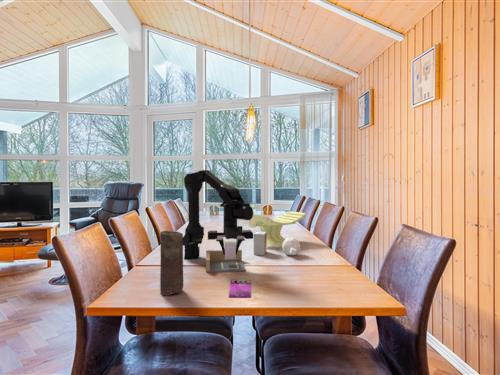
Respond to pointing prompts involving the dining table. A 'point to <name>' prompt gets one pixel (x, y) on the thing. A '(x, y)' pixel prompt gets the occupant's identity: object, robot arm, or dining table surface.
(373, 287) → the dining table surface
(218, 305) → the dining table surface
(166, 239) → the grey-brown tall block
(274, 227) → the slatted curved stool
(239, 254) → the corner tray
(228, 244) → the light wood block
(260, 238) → the small box
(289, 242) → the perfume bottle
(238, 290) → the smartphone
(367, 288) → the dining table surface
